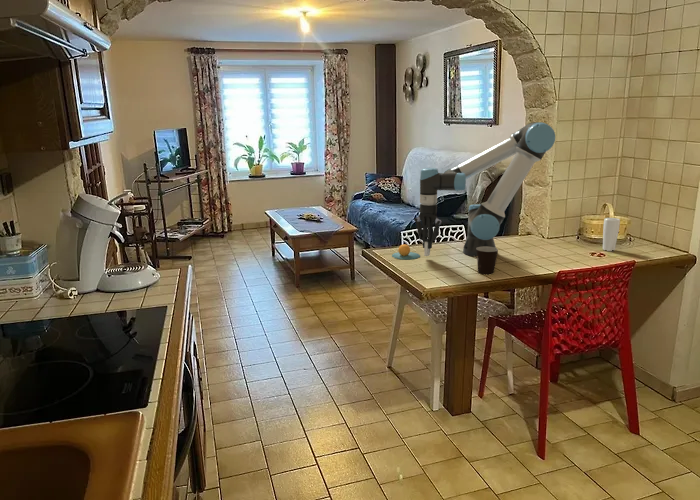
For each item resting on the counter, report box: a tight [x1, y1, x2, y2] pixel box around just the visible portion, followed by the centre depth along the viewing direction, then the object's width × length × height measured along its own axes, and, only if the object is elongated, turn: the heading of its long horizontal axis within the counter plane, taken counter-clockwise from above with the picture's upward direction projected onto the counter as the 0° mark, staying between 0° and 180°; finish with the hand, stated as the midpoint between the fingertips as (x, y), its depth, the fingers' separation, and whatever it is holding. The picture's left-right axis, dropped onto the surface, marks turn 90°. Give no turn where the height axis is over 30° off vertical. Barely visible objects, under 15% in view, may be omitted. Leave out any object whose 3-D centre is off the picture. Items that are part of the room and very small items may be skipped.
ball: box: [397, 244, 411, 256], centre depth 244 cm, size 6×6×6 cm
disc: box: [391, 251, 421, 261], centre depth 244 cm, size 13×13×1 cm
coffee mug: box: [476, 246, 499, 276], centre depth 218 cm, size 12×9×10 cm
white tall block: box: [602, 217, 621, 252], centre depth 246 cm, size 7×7×15 cm
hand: (427, 255), depth 237 cm, fingers closed
